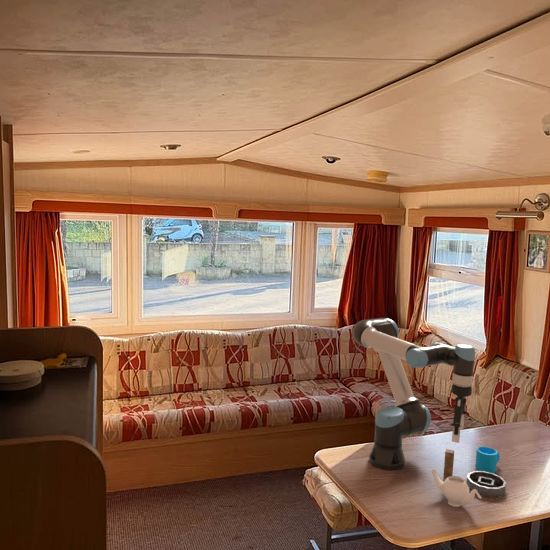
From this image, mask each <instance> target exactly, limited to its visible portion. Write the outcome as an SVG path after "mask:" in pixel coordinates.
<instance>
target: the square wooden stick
mask: <svg viewBox="0 0 550 550" xmlns="http://www.w3.org/2000/svg"><path fill="white" fill-rule="evenodd" d="M454 459H455V450H453V449H448V448H446V449H445V451H444V462H443V463H444V464H443V476H442V477H443V480H442V481H443V482H444V481H445V480H446V478H448V477H450V476H454V461H455V460H454Z"/></svg>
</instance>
